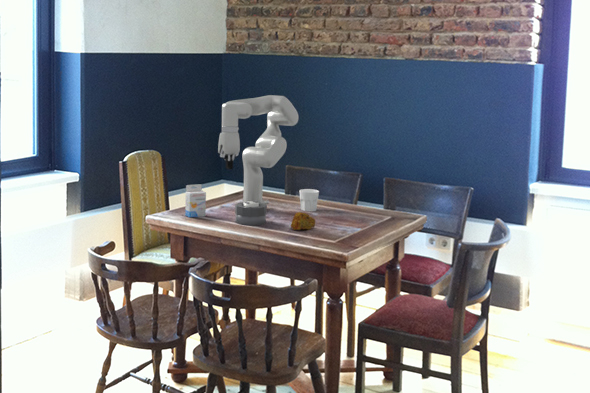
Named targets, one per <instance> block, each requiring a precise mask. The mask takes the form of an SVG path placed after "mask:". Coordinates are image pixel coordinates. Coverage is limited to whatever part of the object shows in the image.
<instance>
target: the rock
mask: <svg viewBox="0 0 590 393" xmlns="http://www.w3.org/2000/svg"><path fill="white" fill-rule="evenodd" d="M315 225H316V219H315V218H313V217H312V216H310V215H309V214H308V213H305V212H301V211H298V212H296V213H295V214H294V215H293V218H292V220H291V223H290V227H291V229H292V230H295V231H296V230H298V231H299V230H307V231H309V230H311V229H313V228H315Z"/></svg>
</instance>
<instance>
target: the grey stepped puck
mask: <svg viewBox="0 0 590 393" xmlns="http://www.w3.org/2000/svg"><path fill="white" fill-rule="evenodd" d="M267 205H268V204H263V203H259V206H257V207H246V206H244V202H243V201H242V202H237V203H235V205H234V213H235V223H236V224H238V225H242V226H262V225H264V224H266V221H267V209H268V207H267Z"/></svg>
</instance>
